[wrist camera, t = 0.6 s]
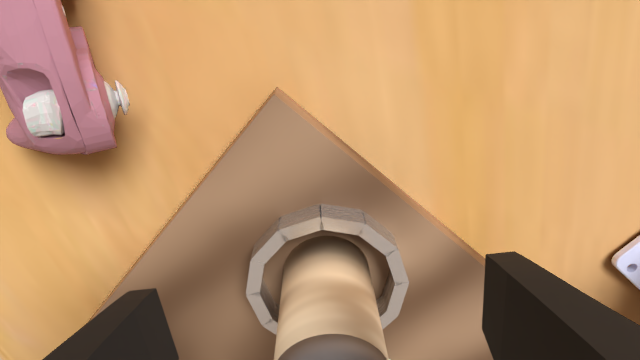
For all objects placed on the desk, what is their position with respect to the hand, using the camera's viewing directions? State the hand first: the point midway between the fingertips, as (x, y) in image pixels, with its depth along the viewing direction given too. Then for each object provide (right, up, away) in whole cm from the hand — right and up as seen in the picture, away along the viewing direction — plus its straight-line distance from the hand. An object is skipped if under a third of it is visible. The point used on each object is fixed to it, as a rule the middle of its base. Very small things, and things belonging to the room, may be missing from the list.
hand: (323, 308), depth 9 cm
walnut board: (+1, -5, +14) cm, 15 cm away
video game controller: (-10, +9, +7) cm, 16 cm away
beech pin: (0, -2, +10) cm, 10 cm away
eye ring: (0, -2, +10) cm, 10 cm away
